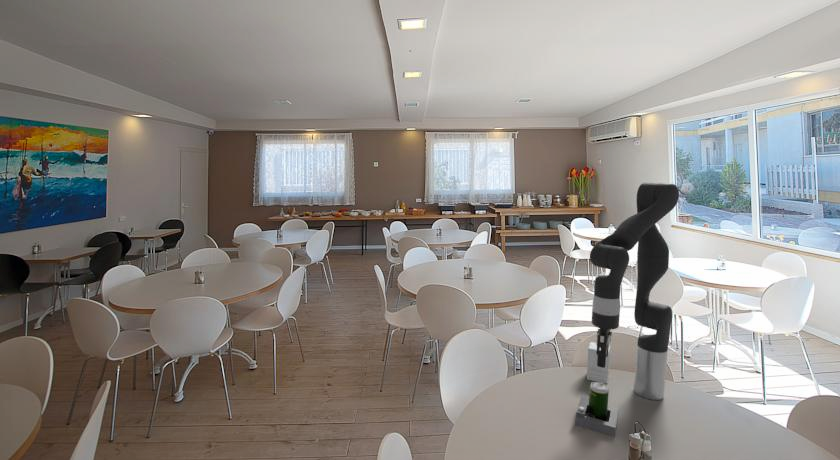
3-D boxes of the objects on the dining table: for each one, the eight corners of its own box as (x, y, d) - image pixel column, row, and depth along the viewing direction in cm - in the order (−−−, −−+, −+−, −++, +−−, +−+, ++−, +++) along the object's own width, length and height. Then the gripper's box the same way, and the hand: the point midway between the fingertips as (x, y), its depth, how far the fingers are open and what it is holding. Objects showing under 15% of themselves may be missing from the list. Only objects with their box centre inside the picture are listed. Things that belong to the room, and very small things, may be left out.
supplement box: (609, 376, 152) (611, 345, 150) (607, 384, 145) (609, 352, 144) (588, 371, 155) (590, 341, 154) (586, 379, 149) (587, 347, 148)
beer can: (600, 429, 119) (602, 392, 117) (584, 420, 123) (586, 384, 122) (610, 423, 122) (612, 387, 120) (594, 414, 126) (596, 379, 125)
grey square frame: (580, 408, 130) (581, 393, 129) (617, 418, 124) (618, 403, 124) (575, 425, 120) (576, 410, 120) (615, 437, 115) (616, 421, 114)
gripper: (617, 319, 110) (614, 374, 112) (621, 306, 122) (617, 355, 124) (589, 315, 114) (586, 367, 116) (595, 302, 126) (592, 350, 128)
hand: (602, 361), depth 120 cm, fingers open, 8 cm apart
